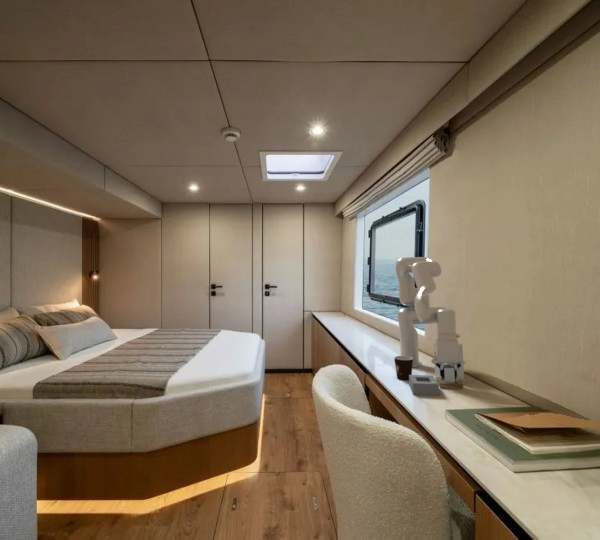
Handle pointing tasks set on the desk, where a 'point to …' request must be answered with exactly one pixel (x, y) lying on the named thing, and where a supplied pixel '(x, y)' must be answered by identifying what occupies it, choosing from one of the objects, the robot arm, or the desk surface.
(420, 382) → the port
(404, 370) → the coffee mug
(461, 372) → the supplement box
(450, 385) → the brown wooden square base
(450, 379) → the plug
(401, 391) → the desk surface
